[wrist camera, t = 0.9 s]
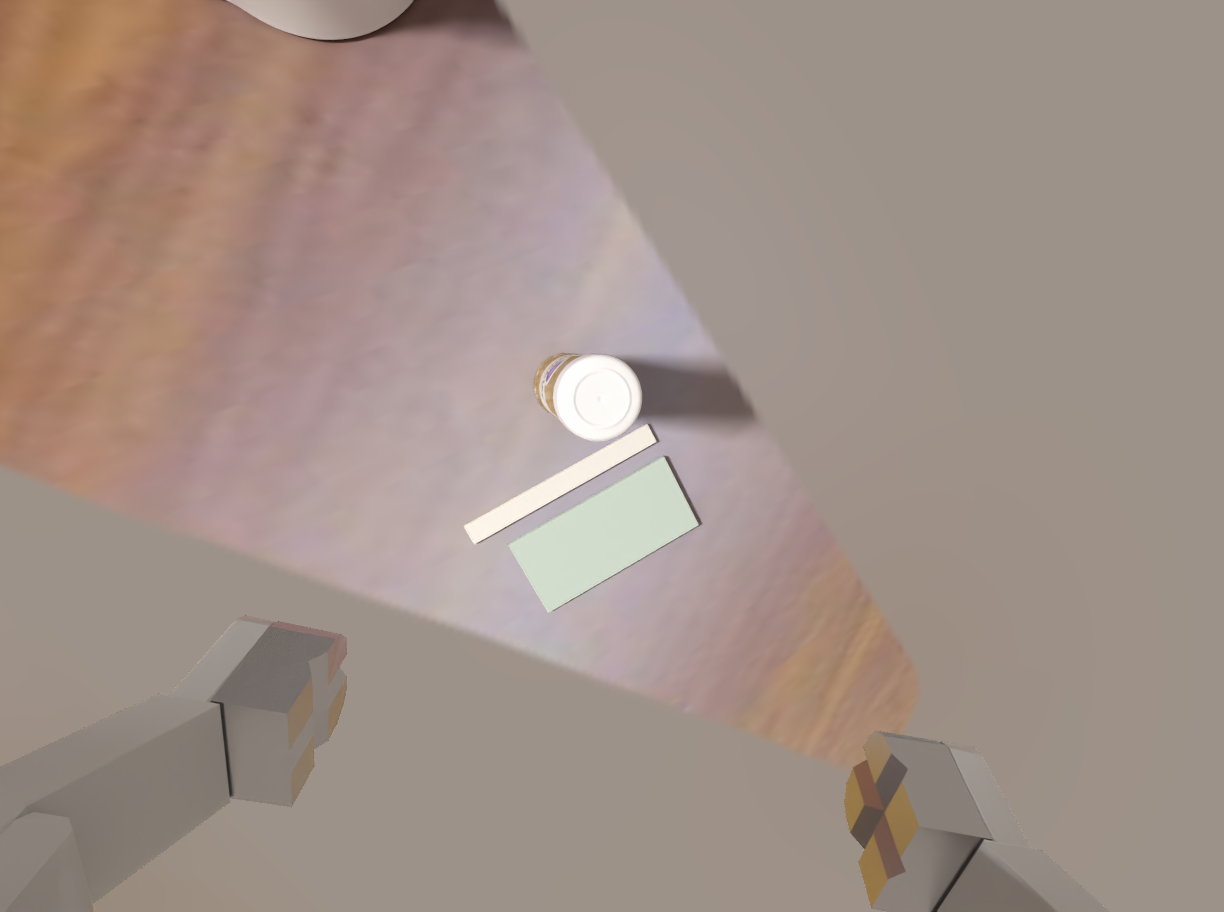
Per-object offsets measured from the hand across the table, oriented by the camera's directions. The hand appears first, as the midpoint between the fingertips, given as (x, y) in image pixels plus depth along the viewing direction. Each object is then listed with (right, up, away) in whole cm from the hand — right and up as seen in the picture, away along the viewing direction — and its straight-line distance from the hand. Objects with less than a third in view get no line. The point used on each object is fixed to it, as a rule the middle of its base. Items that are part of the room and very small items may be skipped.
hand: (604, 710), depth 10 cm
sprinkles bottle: (-3, +9, +37) cm, 38 cm away
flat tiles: (-2, -1, +39) cm, 39 cm away
